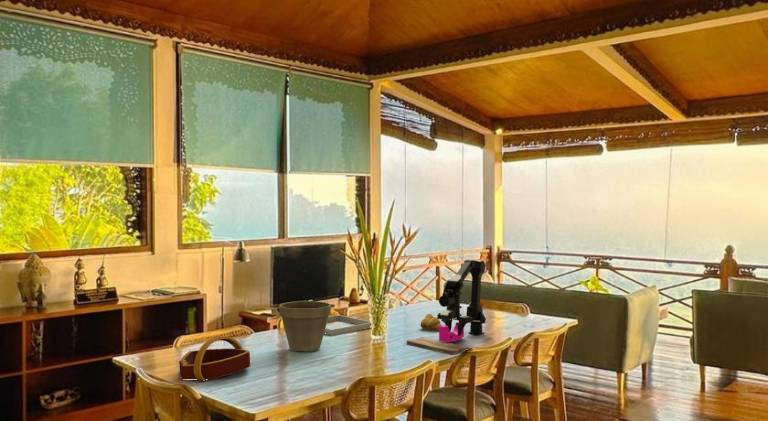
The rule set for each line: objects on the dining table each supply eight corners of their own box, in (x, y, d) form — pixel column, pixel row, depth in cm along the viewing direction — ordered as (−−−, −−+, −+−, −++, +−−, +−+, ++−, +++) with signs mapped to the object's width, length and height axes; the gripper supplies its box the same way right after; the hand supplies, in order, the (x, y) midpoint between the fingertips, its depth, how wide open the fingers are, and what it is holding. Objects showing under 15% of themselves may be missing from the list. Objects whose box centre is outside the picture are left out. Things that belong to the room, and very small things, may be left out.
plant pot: (310, 340, 326) (310, 298, 326) (341, 348, 309) (341, 304, 308) (269, 348, 309) (269, 304, 309) (299, 357, 291) (299, 310, 291)
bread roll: (445, 330, 353) (445, 315, 353) (433, 332, 347) (433, 318, 347) (429, 326, 363) (429, 312, 363) (417, 329, 356) (417, 314, 356)
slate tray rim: (339, 319, 382) (339, 314, 382) (374, 327, 360) (374, 322, 359) (296, 326, 361) (296, 321, 361) (331, 335, 338) (331, 330, 338)
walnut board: (422, 340, 328) (423, 337, 328) (468, 350, 306) (468, 347, 306) (406, 343, 320) (406, 340, 320) (452, 354, 298) (452, 351, 298)
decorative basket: (217, 364, 289) (213, 331, 289) (272, 361, 278) (267, 327, 278) (165, 386, 257) (160, 349, 258) (224, 383, 246) (219, 344, 247)
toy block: (448, 342, 317) (448, 327, 317) (439, 340, 322) (438, 325, 322) (467, 337, 328) (467, 323, 327) (458, 336, 332) (458, 321, 332)
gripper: (430, 303, 326) (430, 334, 327) (457, 308, 312) (457, 340, 313) (444, 301, 334) (444, 331, 334) (472, 305, 320) (472, 336, 320)
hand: (454, 334), depth 325 cm, fingers closed on toy block, 6 cm apart
